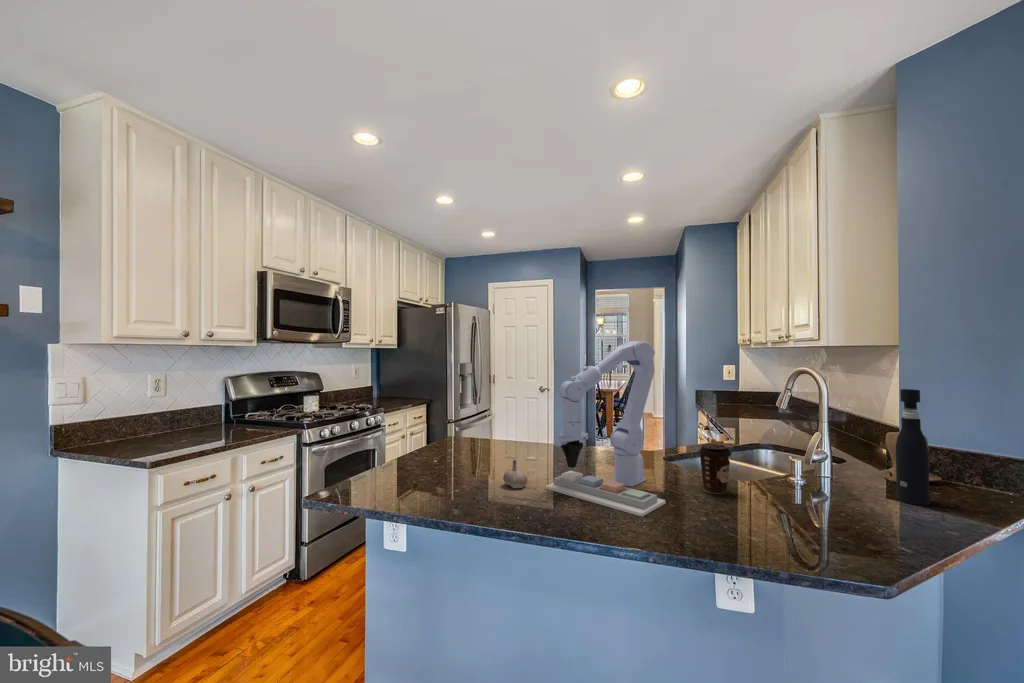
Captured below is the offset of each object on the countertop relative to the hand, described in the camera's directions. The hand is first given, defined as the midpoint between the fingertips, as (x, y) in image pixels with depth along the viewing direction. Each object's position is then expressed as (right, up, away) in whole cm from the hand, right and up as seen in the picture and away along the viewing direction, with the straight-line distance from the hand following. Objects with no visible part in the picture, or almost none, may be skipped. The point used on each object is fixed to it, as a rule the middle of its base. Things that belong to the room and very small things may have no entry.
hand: (571, 466), depth 127 cm
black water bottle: (+90, -6, -13) cm, 91 cm away
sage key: (+15, -5, -15) cm, 22 cm away
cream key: (0, -4, 0) cm, 4 cm away
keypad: (+8, -6, -7) cm, 12 cm away
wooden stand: (+106, -6, +6) cm, 106 cm away
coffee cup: (+41, -6, -4) cm, 42 cm away
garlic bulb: (-17, -7, +1) cm, 18 cm away
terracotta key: (+10, -4, -10) cm, 15 cm away
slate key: (+5, -4, -5) cm, 8 cm away
